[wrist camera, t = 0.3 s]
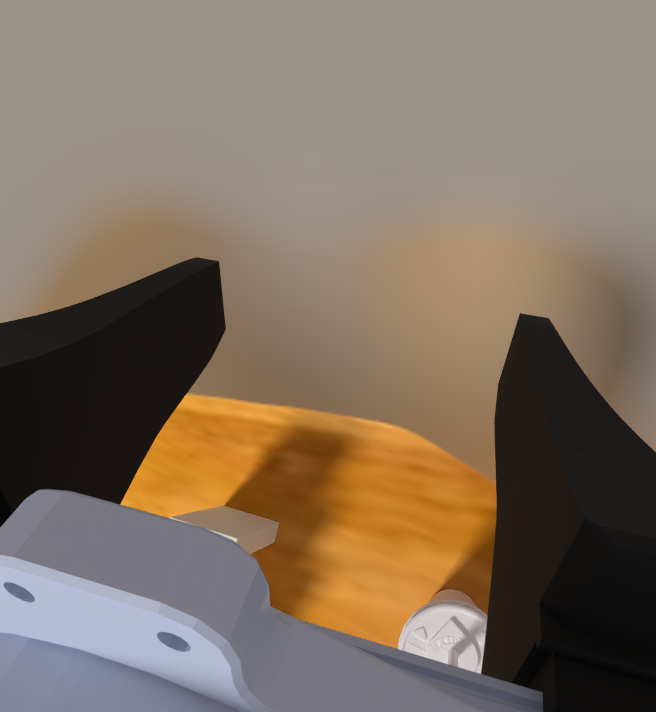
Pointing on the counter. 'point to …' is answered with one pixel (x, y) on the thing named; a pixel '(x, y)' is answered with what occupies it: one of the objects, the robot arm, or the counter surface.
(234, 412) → the counter surface
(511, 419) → the robot arm
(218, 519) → the domino
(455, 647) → the smoothie
